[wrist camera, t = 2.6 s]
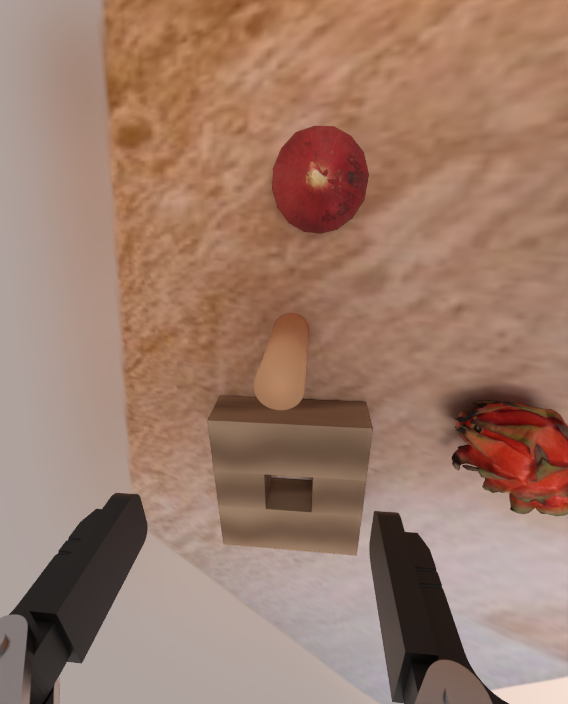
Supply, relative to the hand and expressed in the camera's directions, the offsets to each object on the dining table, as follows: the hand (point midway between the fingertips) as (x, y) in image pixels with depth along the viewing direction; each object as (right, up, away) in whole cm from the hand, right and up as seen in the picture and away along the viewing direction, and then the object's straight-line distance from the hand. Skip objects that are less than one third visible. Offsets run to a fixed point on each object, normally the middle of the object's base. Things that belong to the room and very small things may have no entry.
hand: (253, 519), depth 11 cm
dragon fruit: (+21, -1, +19) cm, 28 cm away
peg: (+2, +8, +17) cm, 19 cm away
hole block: (+2, -6, +23) cm, 24 cm away
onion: (+4, +18, +12) cm, 22 cm away
